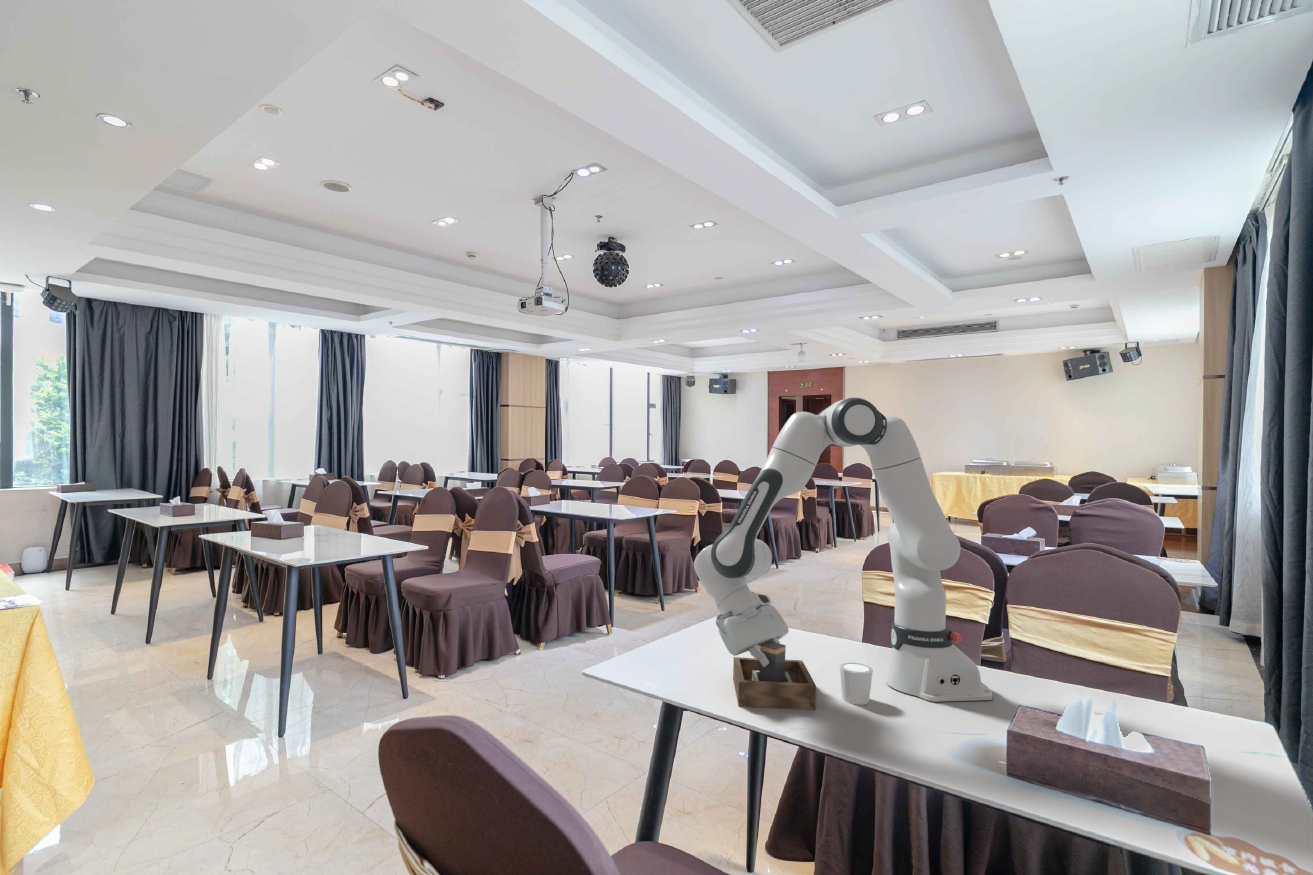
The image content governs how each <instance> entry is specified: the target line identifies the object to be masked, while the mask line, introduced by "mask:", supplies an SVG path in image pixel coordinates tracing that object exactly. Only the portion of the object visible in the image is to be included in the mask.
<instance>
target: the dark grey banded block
mask: <svg viewBox="0 0 1313 875" xmlns="http://www.w3.org/2000/svg"><path fill="white" fill-rule="evenodd" d="M786 648H787V646H786V644H782V643H780V644H779V643H775V642H772V641H769V642H766V643H764V644H761V645H760V650H761V651H762V652H763V653H764V654H765V655H768V656H769V657H770V659H771V661H772V662H771V664H769V665H768V666H766V667H763V666H762V664H761V663H760V672H759V681H768V682H785V660H786V651H787V650H786Z"/></svg>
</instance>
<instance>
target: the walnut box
mask: <svg viewBox="0 0 1313 875" xmlns="http://www.w3.org/2000/svg"><path fill="white" fill-rule="evenodd" d="M732 666H733V668H732V670H733V672H732V673H733V674H732V681H733V686H734V689H735V690H734V691H735V696H736V700H737V706H738V707H749V708H750V707H752V708H765V709H766V708H767V709H787V710H788V709H789V710H806V711H809V710H810V711H816V709H817V708H816V706H817V704H816V703H817V684H816V683H815V681H814V680H813V677H812V676H811V674H810V672H809V670H808V668H807V666H806V665H805V663H804V661H803V659H802V660H799V659H797V660H796V659H785V682H768V681H759V672H760V661H759V660H757V659H756V658H755V657H740V656H739V657H738V656H737V657H736V656H733V665H732Z"/></svg>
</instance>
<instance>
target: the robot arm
mask: <svg viewBox="0 0 1313 875" xmlns="http://www.w3.org/2000/svg"><path fill="white" fill-rule="evenodd" d="M773 442H774V443H773V445H772V447H771V449H770V452H769V453H768V455H767V458H766V460H765V461H764V464H763V466H762V468H761V470H760V472H759V473H758V475H757V476H756V478H755V480H754V481H752V482H753V483H752V484H751V486H750V487H749V489H748V491H747V493H746V495H745V497H744V498H743V501H742V502H741V504H740V506H739V508H738V510H736V511H737V512H736V513H735V515H734V517H733V518H732V520H731V523H730V524H729V525H728V527H727V528H726V529H724V531H723V532H721V534H719V535H718V537H716V539H715V540H714V541H713V543H712V544H710V545H707V546H706V547H704V548H703V549H702V550H700V551H699V553H698V554H697V555H696V557H695V559H694V562H693V567H694V572H695V573H696V576H697V578H698V580H699V581H700V583H701V585H702V587H703V589H704V590H705V592H706V593H707V595H709V596H710V597H711V598H712V599H713V601H714V604H715V607H716V609H717V611H718V612H719V614H718V615H717V616H716V618H715V625H716V627H717V628H718V629H717V630H718V632H719V635H720V638H721V640H722V642H723V644H724V646H725V647H726V649H727V651H728V653H730V655H732V656H733V657H736V656H739V655H741V654H744V653H748V652H749V654H750V655H751V656H752V658H756V659H757V660H759V661H760V663H761V664H762V666H763V667H766V666H768V665H769V664H771V662H772V661H771V659H770V657H769V656H768V655H765V654H764V653H763V652H762V651H761V650H760V645H761V644H764V643H766V642H769V641H772V642H775V643H779V644H781V642H780V640H782V638H785V636H786V635H788V633H789V626H788V624H787V623H786V621H785V619H784V618H783V616H782V615H781V614H780V612H779V610H778V609H777V608H776V607H775V606H774V605H772V604H771V603H772V600H771V598H770V597H769V595H767V594H761V593H759V592H754V591H751V590H750V588H749V587H748V584H749V583H751V582H753V581H755V580H758V578H761V577H762V576H764V575H766V574H767V573H768V572H769V571H770V569H771V566H772V563H773V554H772V553H773V552H772V550H771V548H770V546H769V545H768V544H767V543H766V542H765V541H763V540H761V539H758V538H757V537H758V535H759V533H760V531H761V529H762V528H763V525H764V524H765V523H766V520H767V518H768V516H769V514H770V512H771V510H772V509H773V507H774V506H775V505H777V503H778V502H780V500H782V499H783V498H786V497H788V496H792V495H795V494H797V493H799V492H801V491H802V490H803V489H804V488H805V486H806V485H807V484H808V482H809V480H811V477H812V476H813V473H814V471H815V469H816V467H817V465H818V462H819V460H820V456H821V454H822V453H823V452H824V450H825V449H826V448H827V447H828V446H831V447H848V448H850V447H854V446H857V445H858V446H861V447H862V448H863V449H864V450H865V452H866V453H867V456H868V457H869V461H870V464H871V468H872V472H873V476H874V478H875V480H876V484H877V488H878V491H879V494H880V496H881V500H882V502H883V504H884V505H885V506H886V509H887V510H888V512H889V515H890V516H891V519H892V521H893V522H891V525H890V526H889V528H888V530H887V540H888V544H889V550H890V559H891V560H890V561H891V569H892V575H893V576H892V577H893V583H894V614H893V615H894V621H892V622H891V624H892V625H891V636H890V637H891V639H890V640H891V646H892V652H891V655H890V656H891V657H890V661H889V662H890V663H889V667H888V671H887V675H886V678H885V683H886V685H888V686H889V687H891V688H892V689H895V690H897V691H899V692H902V693H905V694H908V695H912V696H916V697H918V698H920V699H923V700H926V701H929V702H935V703H938V702H968V701H973V702H975V701H991V700H993V692H992V690H991V688H989V686H987V685H986V684H985V683H983V682H982V680H981V679H982V678H981V673H980V669H979V668H978V666H977V664H976V663H975V662H974V661H973V660H972V659H971V658H970V657H969V656H968V655H966V653H964V652H963V651H962V650H961V649H959V648H958V647H957V646H956V645H955V644H954V642H955V643H957V644H958V643H961V642H962V641H963V636H962V635H961V634H960V633H958V632H957V631H953V630H951V629H950V628H948V627H947V626H946V619H947V616H946V615H947V614H946V611H947V593H946V591H945V590H946V589H945V588H944V584H943V580H942V576H941V571H945V570H948V569H950V568H952V567H953V566H955V565H956V563H957V562H958V560H959V558H960V555H961V552H962V548H961V543H960V541H959V538H958V537H957V536H956V534H955V533H954V531H953V529H952V528H951V526H950V524H949V522H948V520H947V517H946V515H945V514H944V511H943V510H942V508H941V505H940V504H939V502H938V500H937V498H936V497H935V494H934V492H933V489H932V486H931V485H930V482H929V479H928V478H929V477H928V475H927V472H926V469H925V468H926V467H925V466H924V462H923V459H922V456H921V453H920V450H919V448H918V444H917V443H916V441H915V438H914V436H913V434H912V432H911V430H910V429H909V426H908V425H907V423H906V422H905V421H904V420H903V419H902V418H900V417H896V416H885V415H884V414H883V413H882V412H880V410H878V408H876V406H875V405H874V404H873V403H872V402H870V401H869V400H866V399H864V398H861V397H849V398H844V399H840V400H838V401H835V402H834V403H833V404H831V405H828V406H827V407H825V408H824V409H822V410H821V411H819V413H817V414H814V413H812V412H809V411H798V412H797V411H796V412H795V413H793V414H792V415H790V417H789V418H788V419H787V421H786V422H785V423H784V425H783V427H782V428H781V429H780V431H779V433H778V435H777V437H776V438H775V439H774V441H773Z"/></svg>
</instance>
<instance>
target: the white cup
mask: <svg viewBox="0 0 1313 875" xmlns="http://www.w3.org/2000/svg"><path fill="white" fill-rule="evenodd" d="M839 670H840V672H839V673H840V676H839V677H840V687H841V688H840V689H841V698H842V700H843V701H844V702H845V703H848V704H852V705H857V706H862V705H863V706H864V705H867V704H869V702H870V697H871V689H872V680H873V679H872V678H873V669H872V667H870V666H869V665H867V664H863V663H857V662H844V663H840V665H839Z"/></svg>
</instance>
